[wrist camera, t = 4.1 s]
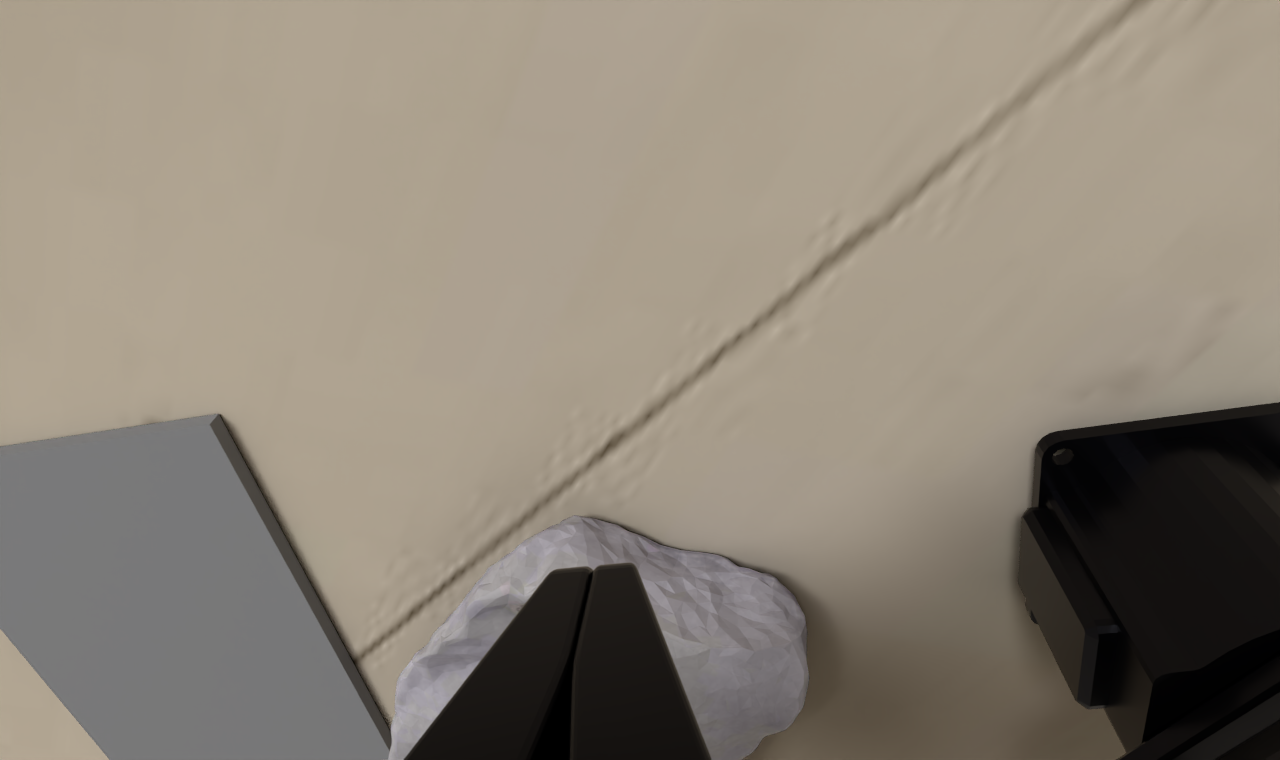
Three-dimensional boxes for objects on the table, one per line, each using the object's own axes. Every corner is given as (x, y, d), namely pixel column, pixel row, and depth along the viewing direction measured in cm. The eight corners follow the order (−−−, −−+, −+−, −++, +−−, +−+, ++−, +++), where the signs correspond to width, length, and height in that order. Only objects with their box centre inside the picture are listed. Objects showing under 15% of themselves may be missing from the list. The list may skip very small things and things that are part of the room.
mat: (218, 414, 22) (209, 424, 21) (397, 745, 29) (393, 759, 28) (-113, 463, 23) (-128, 474, 23) (136, 770, 30) (129, 783, 30)
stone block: (409, 684, 29) (662, 808, 30) (339, 803, 25) (636, 946, 25) (523, 427, 24) (833, 580, 24) (459, 521, 20) (836, 707, 20)
